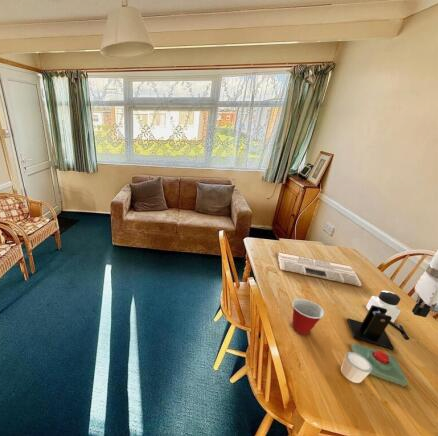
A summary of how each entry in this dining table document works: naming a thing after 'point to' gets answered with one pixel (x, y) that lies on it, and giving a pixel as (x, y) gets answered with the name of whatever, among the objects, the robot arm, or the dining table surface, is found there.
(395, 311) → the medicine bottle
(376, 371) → the button box
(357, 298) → the dining table surface
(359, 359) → the white cup
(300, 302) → the plastic cup
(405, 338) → the lever
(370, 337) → the bracket
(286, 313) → the dining table surface
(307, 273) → the newspaper
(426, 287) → the robot arm
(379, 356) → the button
